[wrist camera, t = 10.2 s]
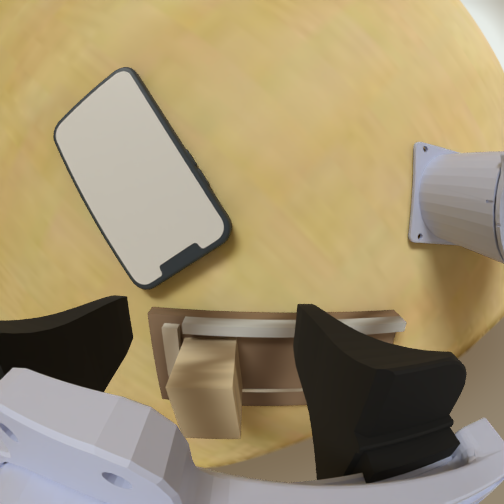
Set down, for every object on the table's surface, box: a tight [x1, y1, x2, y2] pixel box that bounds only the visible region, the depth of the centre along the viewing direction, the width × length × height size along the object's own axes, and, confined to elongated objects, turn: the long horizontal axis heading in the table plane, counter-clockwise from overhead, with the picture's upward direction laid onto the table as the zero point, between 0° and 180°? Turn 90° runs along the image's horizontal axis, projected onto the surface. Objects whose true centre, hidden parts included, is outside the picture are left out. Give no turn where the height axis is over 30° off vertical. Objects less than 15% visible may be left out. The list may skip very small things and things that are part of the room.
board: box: [148, 307, 407, 406], centre depth 21 cm, size 20×9×2 cm, turn 88°
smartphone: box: [54, 67, 232, 290], centre depth 18 cm, size 9×2×16 cm
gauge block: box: [165, 336, 242, 439], centre depth 18 cm, size 4×5×6 cm
